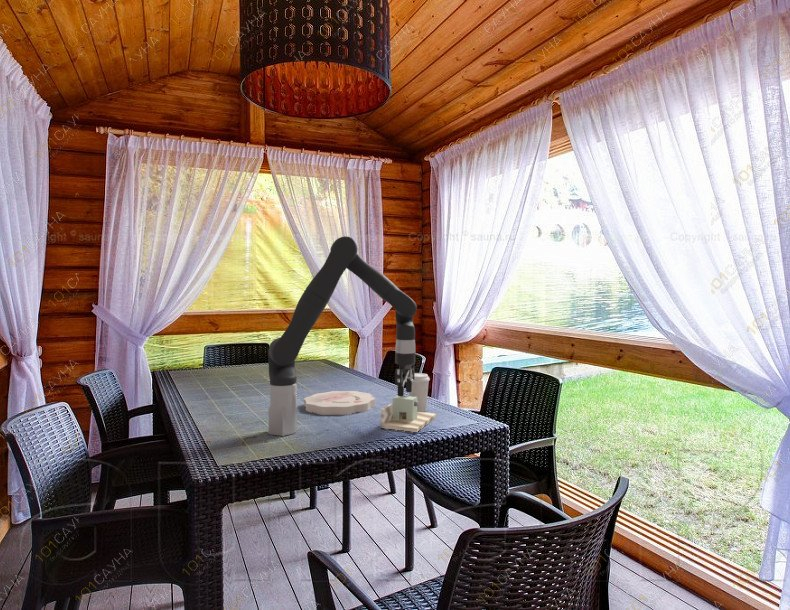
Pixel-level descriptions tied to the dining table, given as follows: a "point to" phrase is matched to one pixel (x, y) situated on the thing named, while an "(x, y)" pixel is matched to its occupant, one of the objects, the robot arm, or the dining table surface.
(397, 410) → the block
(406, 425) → the cleat board
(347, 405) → the decorative plaque
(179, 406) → the dining table surface
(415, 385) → the coffee cup
